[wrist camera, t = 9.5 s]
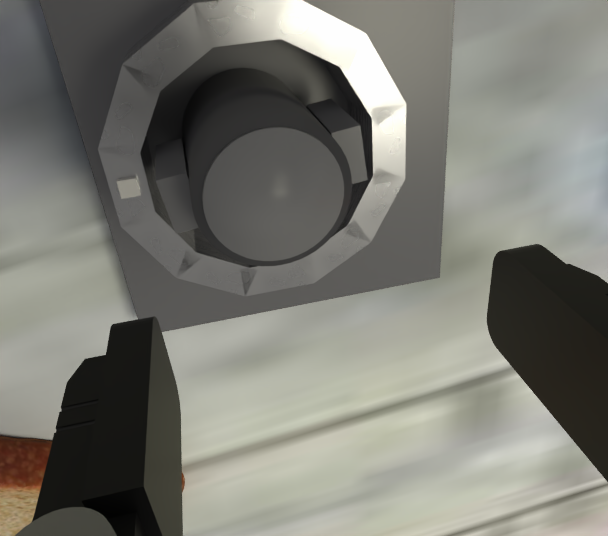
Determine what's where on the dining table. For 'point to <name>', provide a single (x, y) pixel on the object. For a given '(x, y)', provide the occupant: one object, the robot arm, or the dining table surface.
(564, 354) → the robot arm
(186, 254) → the grey thick ring
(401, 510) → the dining table surface
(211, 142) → the domed grey cylinder
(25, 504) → the slice of bread
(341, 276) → the camera plate
